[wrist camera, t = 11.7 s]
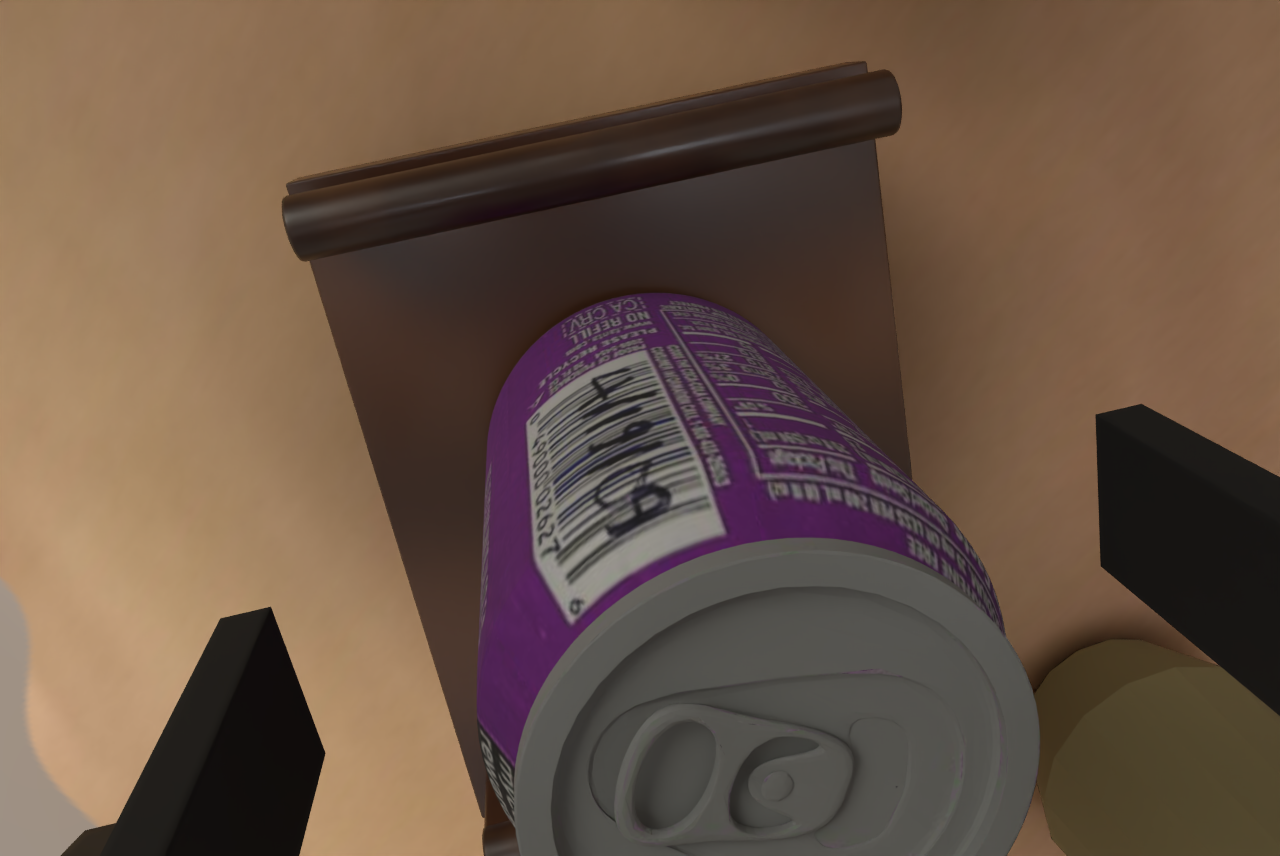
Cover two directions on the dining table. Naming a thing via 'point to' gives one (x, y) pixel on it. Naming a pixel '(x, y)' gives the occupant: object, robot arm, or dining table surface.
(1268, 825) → the squeeze bottle
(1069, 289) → the dining table surface
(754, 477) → the beverage can
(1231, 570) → the robot arm
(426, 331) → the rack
